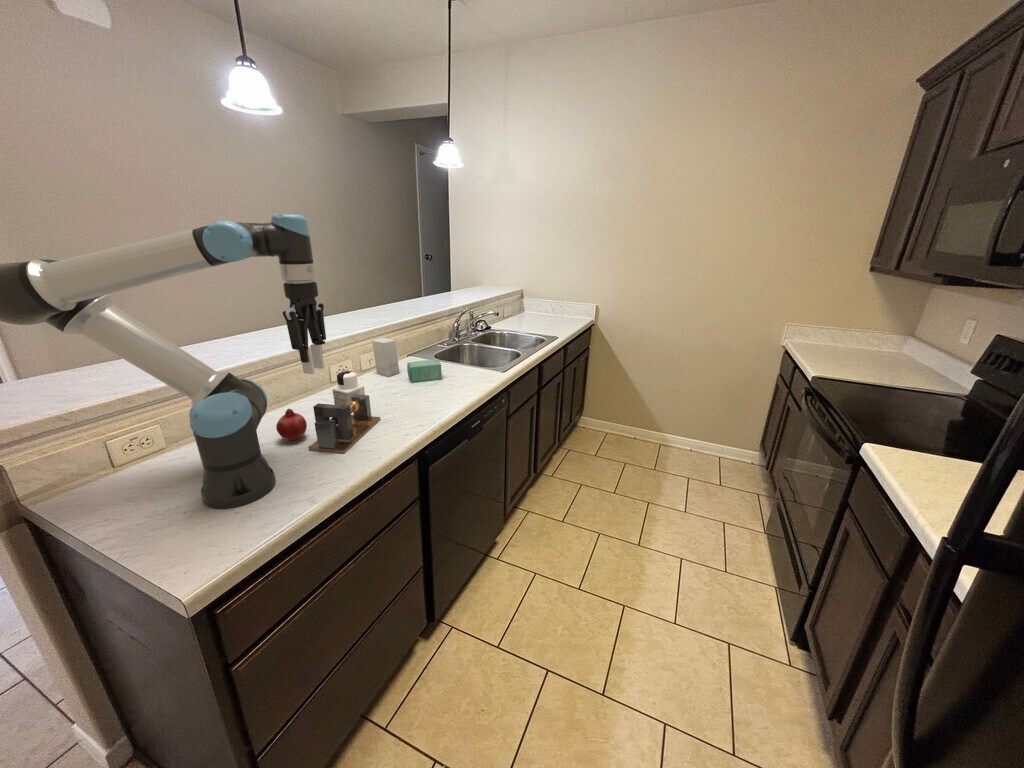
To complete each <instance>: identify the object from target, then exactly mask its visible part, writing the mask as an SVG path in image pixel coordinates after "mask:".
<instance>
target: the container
mask: <svg viewBox="0 0 1024 768" xmlns="http://www.w3.org/2000/svg"><path fill="white" fill-rule="evenodd" d="M336 380H337V386H335V387H333V388H332V394H333V395H332V396H333V403H334V405H344V406H348V404H349V403H351V402H352V399H351V397H352V396H353V395H355V394H357V395H366V393H365V392H366V391H365V386H364V384H363V385H362V384H358V383H359V382H358V376H357V373H356V372H355V371H351V370H344V371H341V372H339V373H337V374H336Z"/></svg>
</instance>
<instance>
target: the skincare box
mask: <svg viewBox="0 0 1024 768" xmlns="http://www.w3.org/2000/svg"><path fill="white" fill-rule="evenodd" d="M371 342H372V349H373V357H374V363H375V370H376V374H377V375H381V376H384V377H388V378H389V377H393V376H395V375H398V374H400V365H399V358H398V350H397V341H396V339H393V338H385V337H381V338H378V339H374V340H372V341H371Z"/></svg>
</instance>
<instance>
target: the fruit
mask: <svg viewBox="0 0 1024 768" xmlns="http://www.w3.org/2000/svg"><path fill="white" fill-rule="evenodd" d="M275 427H276V431H277V434H278V435H279V436H280V437H282V438H284V439H287V440H289V441H295V440H298V439H299V438H301V437H302V436H303V435H304V434H306V431H307V427H308V425H307V420H306V418H305V417H304V416H303V415H302V414H300V413H297V412H294V410H293V409H291V408H288V409H286V411H285V413H284V415H282V416H281V417H280V418H279V419H278V421H277V423H276V426H275Z"/></svg>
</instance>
